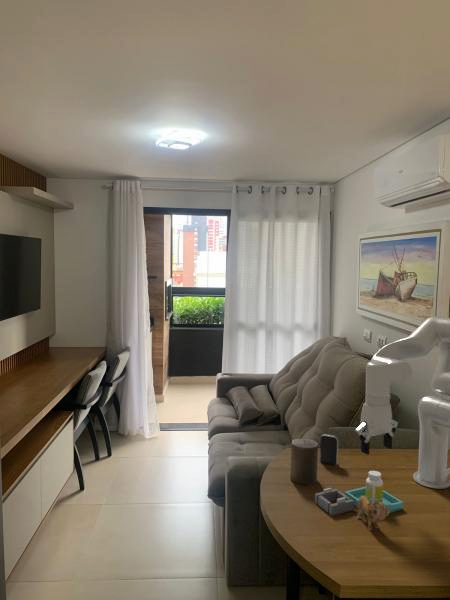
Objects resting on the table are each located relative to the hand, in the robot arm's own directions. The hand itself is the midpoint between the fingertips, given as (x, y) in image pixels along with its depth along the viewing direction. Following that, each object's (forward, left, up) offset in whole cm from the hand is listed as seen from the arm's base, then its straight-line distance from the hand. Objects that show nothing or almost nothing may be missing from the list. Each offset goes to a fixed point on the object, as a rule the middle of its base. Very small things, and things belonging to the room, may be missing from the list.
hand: (376, 450), depth 147 cm
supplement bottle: (0, 0, -18) cm, 18 cm away
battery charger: (-6, -32, -18) cm, 37 cm away
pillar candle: (+12, -24, -18) cm, 32 cm away
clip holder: (+14, -4, -18) cm, 23 cm away
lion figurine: (+10, +8, -18) cm, 22 cm away
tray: (+1, 0, -18) cm, 18 cm away
